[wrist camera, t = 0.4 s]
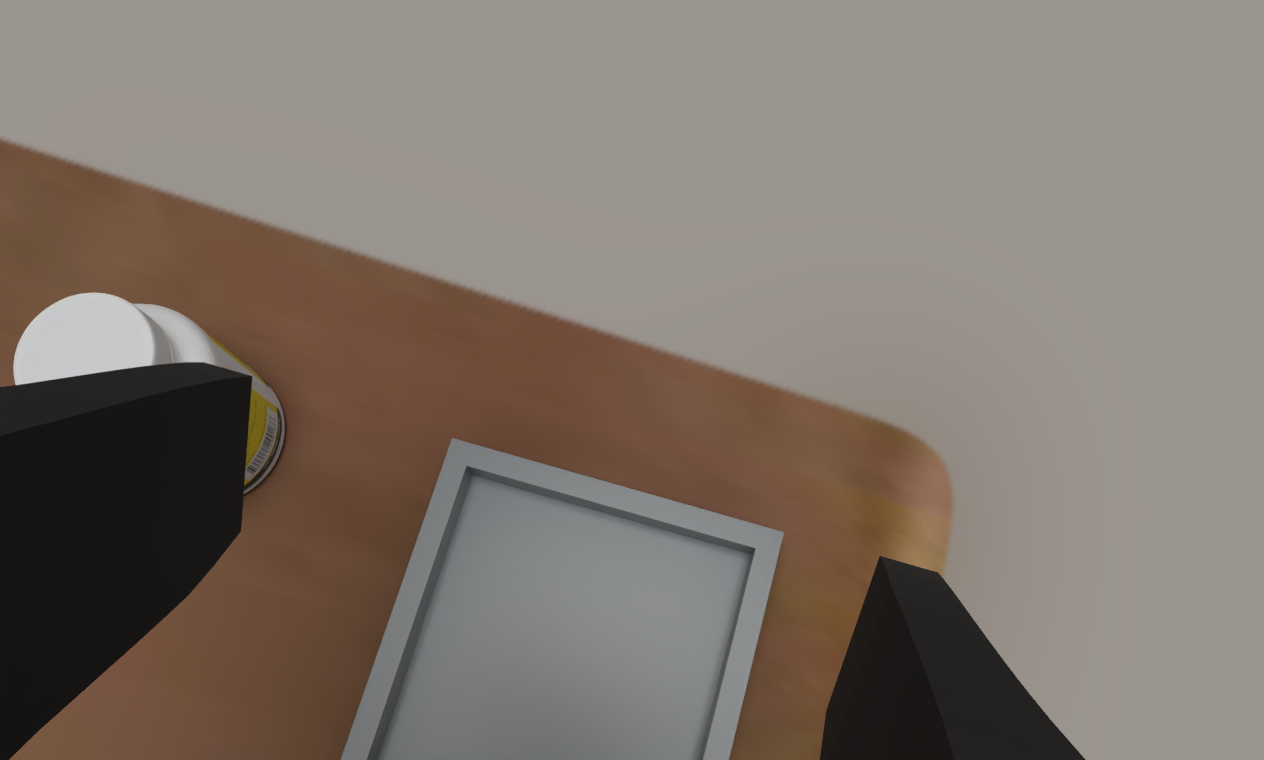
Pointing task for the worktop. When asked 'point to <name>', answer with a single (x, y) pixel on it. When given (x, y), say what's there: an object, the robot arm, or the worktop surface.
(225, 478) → the robot arm
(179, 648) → the worktop surface
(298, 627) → the worktop surface
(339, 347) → the worktop surface
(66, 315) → the supplement bottle
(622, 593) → the tray
